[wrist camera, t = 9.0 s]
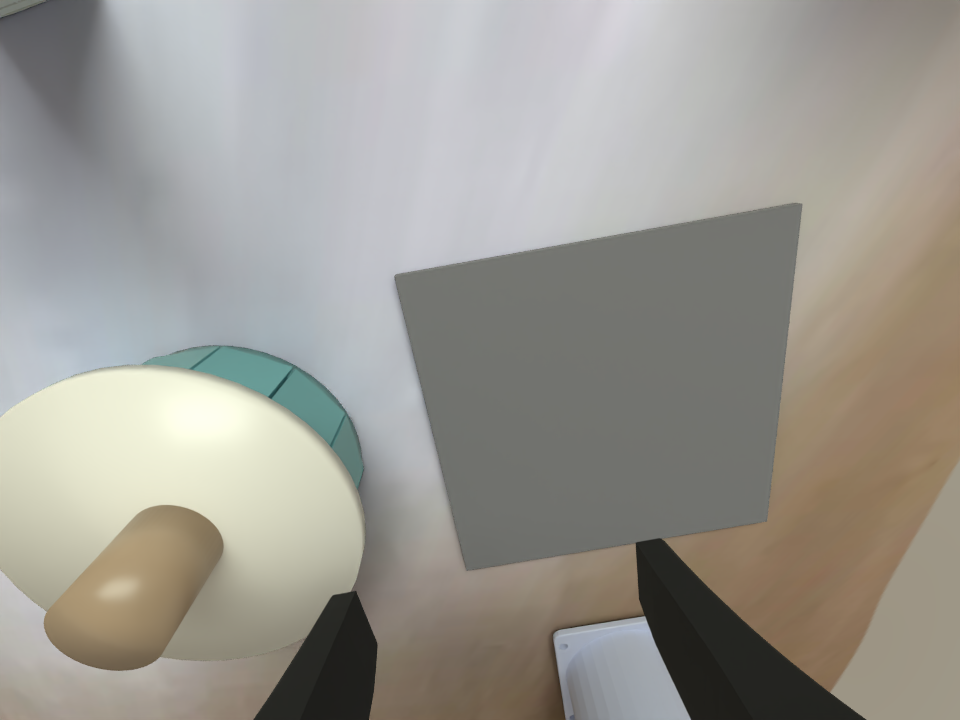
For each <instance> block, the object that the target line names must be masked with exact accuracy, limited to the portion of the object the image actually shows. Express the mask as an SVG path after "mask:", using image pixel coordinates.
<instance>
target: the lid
mask: <svg viewBox="0 0 960 720" xmlns="http://www.w3.org/2000/svg"><path fill="white" fill-rule="evenodd" d="M365 534H366V527H365V517H364V510H363V507H362V503H361V499H360V496H359V493H358V490H357V488H356V486H355V484H354V482H353V479H352V477H351V475H350V474H349V472H348V470H347V469H346V467H345V466H344V464H343V462H342V461H341V459H340V458H339V457H338V455H337V454H336V453H335V452H334V451H333V449H332V448H331V447H330V446H329V444H328V443H327V442H326V441H325V440H324V439H323V438H322V437H321V436H320V435H319V434H318V433H317V432H316V431H315V430H314V429H312V428H311V427H310V426H309V425H308V424H307V423H306V422H304V421H303V420H302V419H300V418H299V417H298V416H296V415H295V414H294V413H292V412H291V411H290V410H288V409H287V408H285V407H284V406H282V405H280V404H279V403H277V402H275V401H273V400H272V399H270V398H268V397H267V396H265V395H263V394H261V393H259V392H257V391H254V390H252V389H250V388H248V387H246V386H243V385H241V384H239V383H236V382H233V381H230V380H227V379H224V378H221V377H218V376H215V375H212V374H208V373H204V372H199V371H195V370H190V369H186V368H179V367H170V366H161V365H122V366H114V367H106V368H99V369H95V370H91V371H87V372H83V373H80V374H76V375H73V376H71V377H68V378H66V379H64V380H61V381H59V382H56V383H54V384H52V385H50V386H48V387H46V388H44V389H43V390H41V391H39V392H37V393H35V394H33V395H31V396H30V397H28V398H26V399H25V400H23V401H22V402H20V403H18V404H17V405H15V406H14V407H12V408H11V409H9V410H8V411H7V412H6V413H5V414H4V415H3V416H2V417H1V418H0V569H1V571H2V572H3V573H4V574H5V575H6V576H7V577H8V578H9V579H10V580H11V581H12V583H13V584H14V585H15V586H16V587H17V588H18V589H19V590H20V591H22V592H23V593H24V594H25V595H26V596H27V597H29V598H30V599H31V600H32V601H33V602H34V603H36V604H37V605H38V606H40V607H41V608H43V609H44V610H45V611H47V613H46V615H45V618H44V628H45V632H46V634H47V636H48V638H49V639H50V641H51V642H52V644H53V645H54V646H55V647H56V648H57V649H59V650H60V651H61V652H62V653H64V654H65V655H67V656H68V657H70V658H72V659H73V660H75V661H78V662H80V663H82V664H85V665H88V666H91V667H95V668H99V669H105V670H116V671H123V670H133V669H138V668H141V667H144V666H147V665H149V664H151V663H153V662H154V661H156V660H157V659H158V658H159V657H163V658H171V659H179V660H194V661H219V660H232V659H240V658H247V657H252V656H256V655H261V654H265V653H269V652H272V651H275V650H278V649H281V648H284V647H286V646H288V645H290V644H293V643H295V642H297V641H299V640H301V639H303V638H305V637H306V636H308V634H309V633H310V631H311V629H312V628H313V626H314V624H315V623H316V621H317V619H318V618H319V616H320V614H321V613H322V611H323V609H324V608H325V606H326V604H327V603H328V601H329V599H330V598H331V597H332V595H336V594H341V593H347V592H351V590H352V588H353V586H354V584H355V581H356V579H357V575H358V571H359V567H360V563H361V559H362V555H363V551H364V547H365Z"/></svg>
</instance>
